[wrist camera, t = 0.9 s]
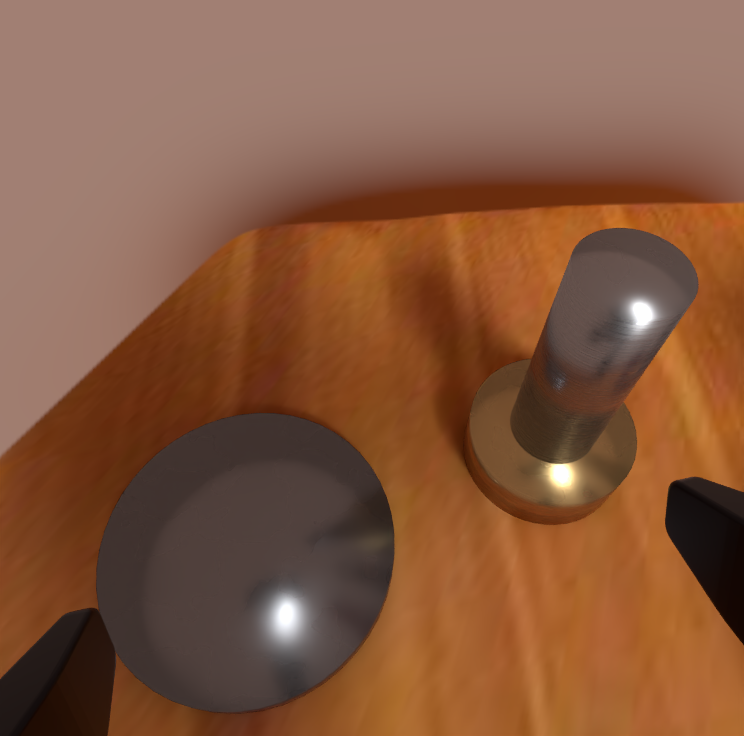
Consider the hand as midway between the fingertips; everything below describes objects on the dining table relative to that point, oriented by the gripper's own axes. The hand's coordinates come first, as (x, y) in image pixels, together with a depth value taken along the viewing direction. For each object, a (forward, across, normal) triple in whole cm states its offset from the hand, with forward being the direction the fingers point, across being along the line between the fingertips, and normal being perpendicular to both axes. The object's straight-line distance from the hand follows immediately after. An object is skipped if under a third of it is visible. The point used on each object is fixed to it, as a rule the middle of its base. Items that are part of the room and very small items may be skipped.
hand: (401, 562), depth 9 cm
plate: (+13, +5, +10) cm, 17 cm away
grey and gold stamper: (+15, -9, +9) cm, 19 cm away
